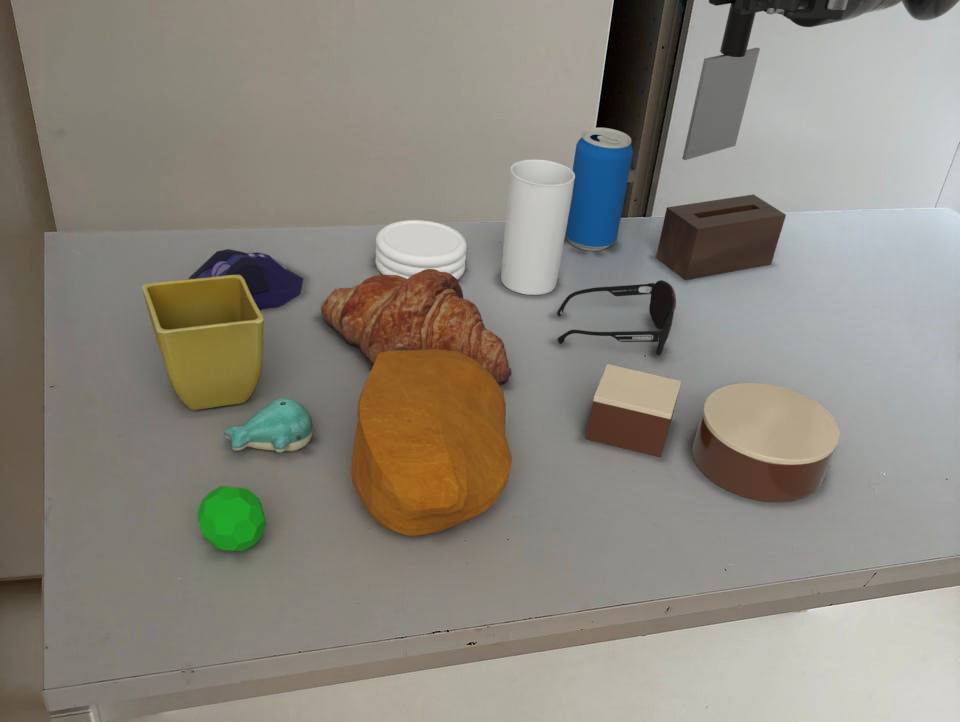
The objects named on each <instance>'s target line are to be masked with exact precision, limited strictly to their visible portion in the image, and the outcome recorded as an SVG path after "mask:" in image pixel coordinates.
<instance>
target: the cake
mask: <svg viewBox="0 0 960 722" xmlns="http://www.w3.org/2000/svg"><path fill="white" fill-rule="evenodd" d="M840 437H841V430H840V427H839V424H838V422H837V421H836V419H835V417H834V416H833V415H832V414H831V413H830V412H829V411H828V409H826V408H825V407H824V406H823V405H821V404H820V403H818V402H817V401H816V400H813V399H812V398H810V397H809V396H806V395H805V394H802V393H800V392H797V391H795V390H792V389H790V388H786V387H783V386H778V385H775V384H769V383H763V382H762V383H761V382H739V383H732V384H729V385H724V386H722V387H719V388H717V389H716V390H714V391H713V392H711V394H709V396H707V398H706V400H705V402H704V404H703V408H702V411H701V415H700V418H699V421H698V426H697V428H696V432H695V436H694V439H693V443H692V446H691V447H692V448H691V453H692V457H693V461H694V463H695V465H696V466H697V468H698V469H699V470H700V472H701V473H702V475H704V476H705V477H706V478H707V479H708V480H710V481H711V482H712V483H713V484H715V485H717V486H719V487H720V488H722V489H724V490H725V491H728V492H730V493H732V494H735V495H736V496H740V497H743V498H747V499H750V500H754V501H760V502H768V503H787V502H795V501H798V500H799V501H800V500H802V499H805V498H807V497H809V496H811V495H812V494H814V493H815V492H817V490H819V488H820V487H821V485H822V483H823V481H824V478H825V476H826V473H827V470H828V469H829V466H830V464H831V462H832V459H833V457H834V454H835V452H836V449H837V447H838V444H839V443H840Z"/></svg>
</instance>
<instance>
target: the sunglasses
mask: <svg viewBox="0 0 960 722" xmlns="http://www.w3.org/2000/svg"><path fill="white" fill-rule="evenodd" d="M596 292H609V293H610V294H612V296H614V297H629V296H644V295H650V299H649V300H650V301H649V308H648V312H649V316H650V318H651V321H652V322H653V325H654V327H655V328H656V329H658V330H646V331H645V330H638V331H635V330H633V331H628V330H627V331H591V330H582V329H569V330H568V331H566V332H565V333H563V334H562V335H560V336H558V338H557V342H558V343H559V344H563V343H564V342H565V339H566V338H567V337H568V336H571V335H573V334H578V335H579V334H580V335H585V336H586V335H587V336H596V337H612V338H614V339H615V340H617V341H618V342H621V343H636V342H638V343H657V346H656V351H655V354H656V356H657V357H660V356H661V355H662V352H663V351H664V347H665V345H666V343H667V341H668V338H669V334H670V332H671V328H672V325H673V321H674V314H675V310H676V309H677V299H676V292H675V289H674V287H673V286H672V285H671V284H670V282H667V281H666V280H662V279H659V280H657V281H656V282H655V283H654V282H649V283H642V284H641V283H640V284H628V285H627V284H626V285H614V286H599V287H597V286H596V287H591V288H585V289H584V288H583V289H580V290H576V291H573V292H572V293H569V294H568V295H567V296H566V297H565V299H564V300H563V301H562V303H561V305H560V306H559V308H558V310H557V312H556V314H557V316H558V317H561V316H562V315H563V313H564V310H565V307H566V305H567V304H568V302H569V301H570V300H571V299H572V298H574V297H576V296H579V295H583V294H587V293H596Z"/></svg>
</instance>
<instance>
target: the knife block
mask: <svg viewBox="0 0 960 722" xmlns="http://www.w3.org/2000/svg"><path fill="white" fill-rule="evenodd" d="M786 216H787V214H785V213H784V212H783V211H781V210H779V209H778V208H776V207H775V206H773V205H771V204H770V203H768V202H767V201H765V200H764V199H762V198H760V197H759V196H757V195H755V194H747V195H740V196H733V197H728V198H726V197H725V198H721V199H714V200H713V199H712V200H708V201H701V202H700V201H699V202H694V203H687V204H679V205H673V206H667V207H666V209H665V214H664V217H663V222H662V227H661V231H660V232H661V233H660V236H659V242H658V246H657V250H656V254H655V258H656V259H657V260H658V261H660V262H661V263H662V264H663V265H665V266H666V267H667V268H669V269H670V270H671V271H673V272H674V273H675V274H676V275H678V276H679V277H680V278H682V279H683V280H685V281H689V280H693V279H699V278H704V277H709V276H715V275H721V274H727V273H732V272H736V271H742V270H748V269H754V268H757V267H762V266H768V265H769V266H770V265H772V263H773V259H774V255H775V253H776V249H777V246H778V242H779V239H780V236H781V233H782V230H783V226H784V224H785V220H786Z"/></svg>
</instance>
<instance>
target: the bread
mask: <svg viewBox="0 0 960 722" xmlns="http://www.w3.org/2000/svg"><path fill="white" fill-rule="evenodd" d="M506 407H507V403H506V399H505V395H504V391H503V390H502V387H501V386H500V384H498V383H497V381H496V380H495V379H494V377H493V376H492V375H491V374H490V373H489V372H488V371H487V370H486V369H485V368H484V367H483V366H481V365H480V364H479V363H478V362H477V361H475V360H473V359H471V358H469V357H467V356H465V355H463V354H461V353H459V352H457V351H448V350H440V349H423V350H393V351H387V352H382V353H379V354H378V356H377V358H376V361H375V363H374V365H373V364H372V368H371V370H370V373H369V374H368V377H367V378H366V380H365V383H364V385H363V388H362V390H361V392H360V395H359V399H358V402H357V413H356V414H357V423H356V428H355V433H354V434H355V435H354V442H353V446H352V452H351V453H352V454H351V461H350V463H351V464H350V472H351V481H352V485H353V487H354V489H355V492H356V495H357V496H358V498H359V499H360V501H361V502H362V504H363V506H364V507H365V509H366V510H367V511H368V513H369V514H370V516H371V517H372V518H373V519H374V520H375V521H376V522H377V523H378V524H379V526H381V527H383V528H385V529H388V530H390V531H392V532H394V533H398V534H402V535H404V536H407V537H408V536H409V537H410V536H411V537H417V536H426V535H427V536H428V535H432V534H436V533H442V532H444V531H446V530H447V529H448V528H453V527H456V526H458V525H460V524H463V523H465V522H468V521H470V520H473V519H474V518H476V517H478V516H479V515H481V514H483V513H484V512H485V511H487V510H489V509H490V507H491V506H492V505H493V504H495V502H497V500H498V499H499V498H500V496H501V494H502V493H503V491H504V489H505V487H506V486H507V483H508V481H509V478H510V473H511V470H512V463H513V456H512V453H511V449H510V447H509V446H510V445H509V442H508V440H507V436H506V415H507V414H506Z"/></svg>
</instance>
